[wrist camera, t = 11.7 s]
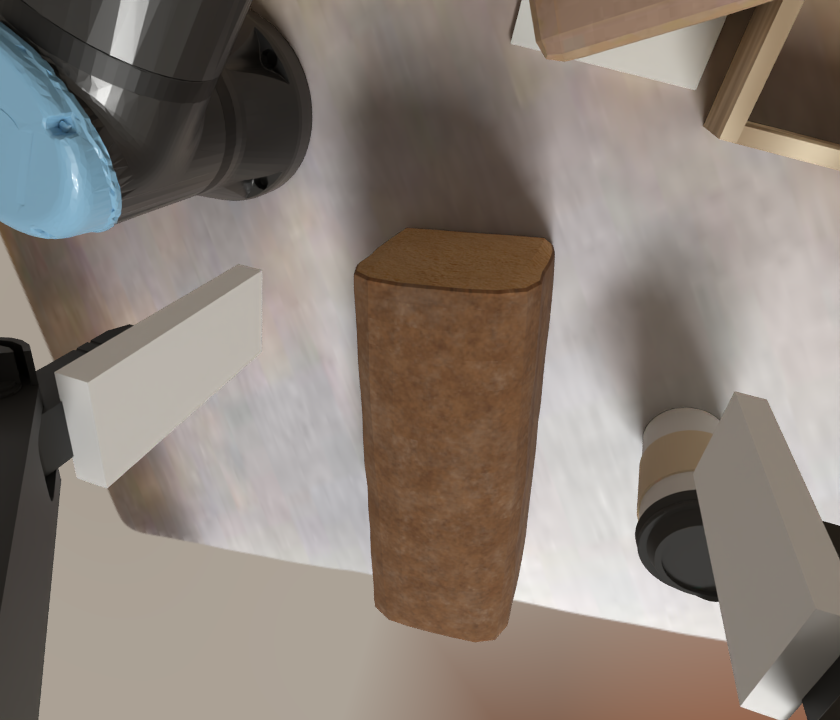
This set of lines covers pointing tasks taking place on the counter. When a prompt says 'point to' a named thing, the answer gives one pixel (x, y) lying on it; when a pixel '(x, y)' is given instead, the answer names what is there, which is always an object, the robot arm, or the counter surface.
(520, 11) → the grey mat
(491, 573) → the bread
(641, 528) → the coffee cup
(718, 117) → the birch frame
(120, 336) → the robot arm
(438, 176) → the counter surface
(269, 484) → the counter surface
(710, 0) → the wooden block
